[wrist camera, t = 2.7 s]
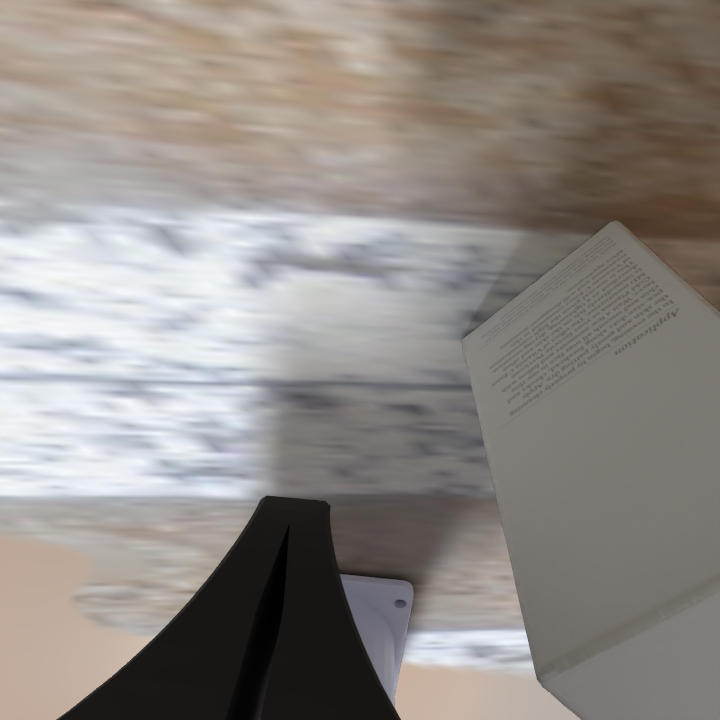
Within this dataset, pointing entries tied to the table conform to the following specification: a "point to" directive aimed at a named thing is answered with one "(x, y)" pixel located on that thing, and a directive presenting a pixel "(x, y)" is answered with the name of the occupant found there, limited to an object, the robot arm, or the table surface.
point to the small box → (610, 478)
